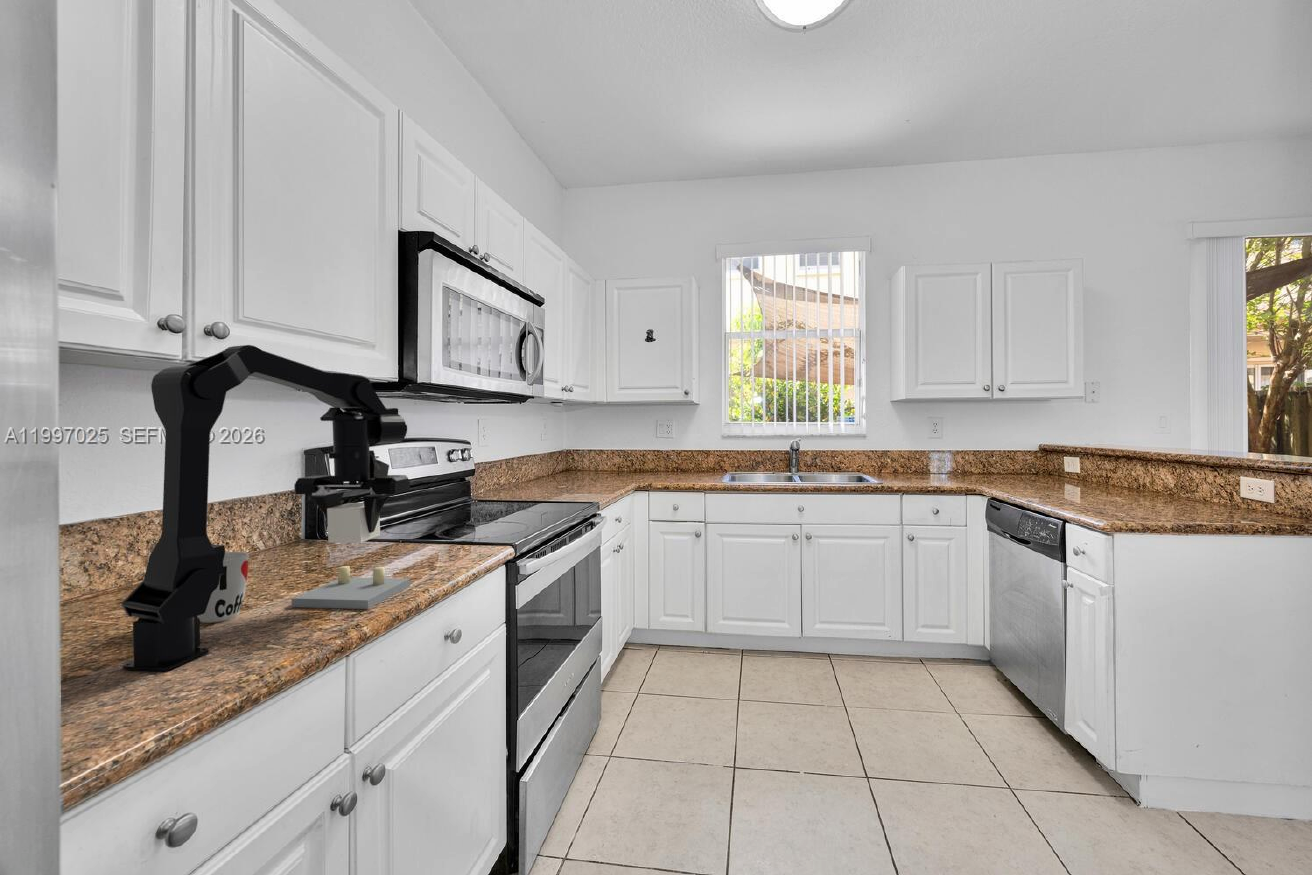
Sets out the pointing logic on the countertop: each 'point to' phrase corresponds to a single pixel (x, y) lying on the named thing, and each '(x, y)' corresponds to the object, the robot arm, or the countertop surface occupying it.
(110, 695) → the countertop surface
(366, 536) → the block
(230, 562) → the cup
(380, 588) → the plate
